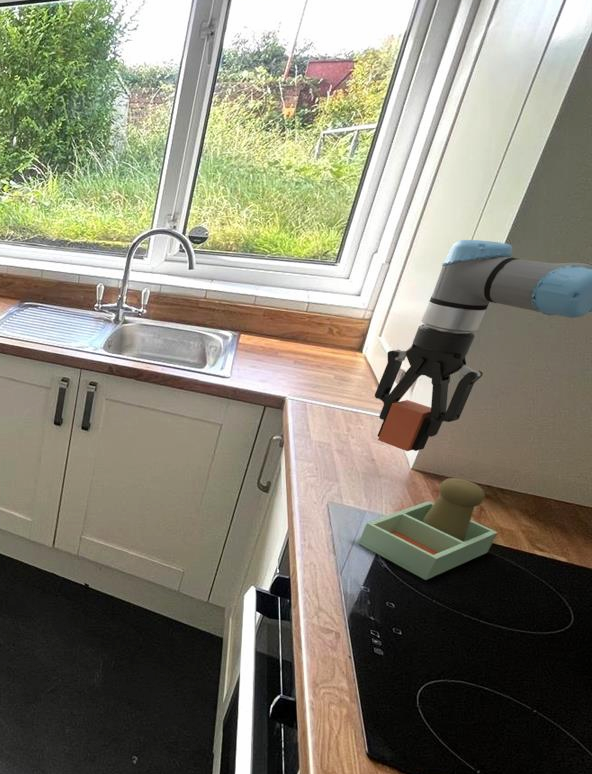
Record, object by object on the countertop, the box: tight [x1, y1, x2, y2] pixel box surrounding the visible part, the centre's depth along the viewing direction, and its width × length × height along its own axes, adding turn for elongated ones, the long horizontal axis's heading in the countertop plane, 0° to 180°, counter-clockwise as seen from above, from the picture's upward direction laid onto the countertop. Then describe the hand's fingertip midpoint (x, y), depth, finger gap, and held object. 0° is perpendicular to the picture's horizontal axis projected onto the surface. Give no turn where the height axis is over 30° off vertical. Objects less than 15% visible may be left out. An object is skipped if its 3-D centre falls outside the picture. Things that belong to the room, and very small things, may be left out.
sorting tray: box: [357, 500, 499, 581], centre depth 95 cm, size 18×9×4 cm, turn 113°
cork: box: [421, 477, 486, 542], centre depth 95 cm, size 6×6×11 cm
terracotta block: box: [377, 399, 431, 452], centre depth 112 cm, size 5×5×8 cm
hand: (400, 442), depth 113 cm, fingers closed on terracotta block, 5 cm apart
